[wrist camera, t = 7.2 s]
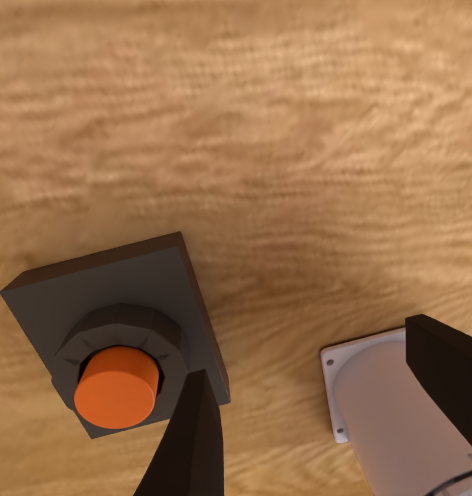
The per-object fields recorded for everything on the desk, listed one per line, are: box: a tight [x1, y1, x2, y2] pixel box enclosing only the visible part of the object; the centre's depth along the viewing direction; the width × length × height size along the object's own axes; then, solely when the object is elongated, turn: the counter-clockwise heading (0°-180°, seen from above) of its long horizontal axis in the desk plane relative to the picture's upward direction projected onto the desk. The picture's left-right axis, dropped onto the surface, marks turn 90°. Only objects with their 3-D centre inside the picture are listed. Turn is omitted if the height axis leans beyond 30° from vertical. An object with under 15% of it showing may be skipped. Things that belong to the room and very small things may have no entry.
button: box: [74, 346, 159, 429], centre depth 15 cm, size 4×4×2 cm
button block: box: [0, 232, 231, 439], centre depth 18 cm, size 11×9×4 cm
